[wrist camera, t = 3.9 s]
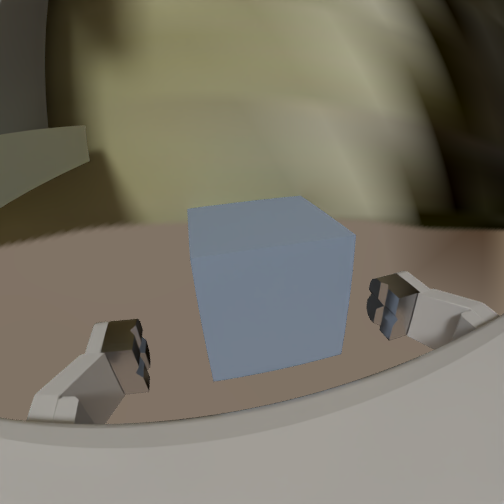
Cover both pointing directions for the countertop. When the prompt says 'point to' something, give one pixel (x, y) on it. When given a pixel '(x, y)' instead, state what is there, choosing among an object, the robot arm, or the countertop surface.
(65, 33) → the countertop surface
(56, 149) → the tray
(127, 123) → the countertop surface
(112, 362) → the robot arm
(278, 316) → the block
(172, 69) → the countertop surface
